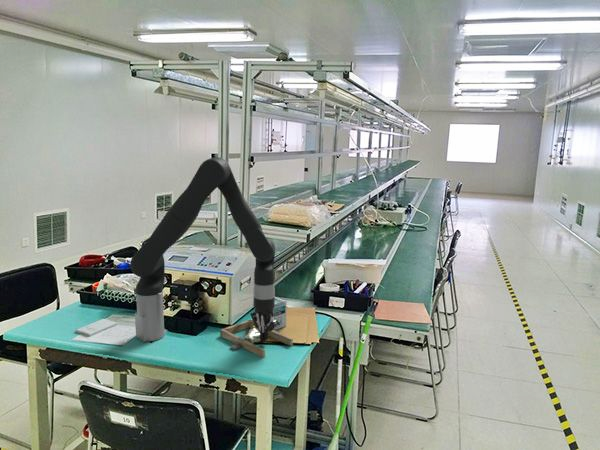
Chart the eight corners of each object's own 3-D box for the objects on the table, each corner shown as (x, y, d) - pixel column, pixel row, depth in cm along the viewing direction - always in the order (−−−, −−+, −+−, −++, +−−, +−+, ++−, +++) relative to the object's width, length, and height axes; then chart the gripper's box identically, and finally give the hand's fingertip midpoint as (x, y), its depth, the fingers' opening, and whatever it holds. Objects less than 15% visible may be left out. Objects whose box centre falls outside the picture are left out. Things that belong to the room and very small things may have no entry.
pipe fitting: (266, 339, 173) (249, 336, 174) (267, 330, 173) (250, 327, 174) (261, 349, 166) (242, 346, 167) (261, 339, 165) (243, 335, 166)
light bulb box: (286, 326, 184) (287, 300, 182) (274, 331, 180) (274, 304, 178) (269, 318, 192) (269, 293, 190) (256, 323, 187) (256, 297, 185)
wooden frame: (262, 357, 158) (262, 350, 157) (220, 335, 174) (220, 329, 174) (292, 345, 168) (292, 338, 167) (250, 325, 184) (250, 319, 184)
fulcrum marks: (234, 350, 163) (234, 343, 162) (229, 348, 165) (229, 340, 164) (280, 333, 178) (280, 326, 177) (274, 330, 180) (274, 324, 179)
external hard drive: (117, 326, 183) (90, 338, 172) (103, 322, 187) (75, 333, 176) (117, 322, 182) (89, 333, 172) (103, 318, 186) (75, 329, 175)
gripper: (243, 292, 166) (244, 338, 170) (268, 302, 157) (268, 350, 161) (259, 288, 172) (259, 332, 175) (284, 297, 163) (284, 343, 166)
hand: (263, 340), depth 168 cm, fingers closed
